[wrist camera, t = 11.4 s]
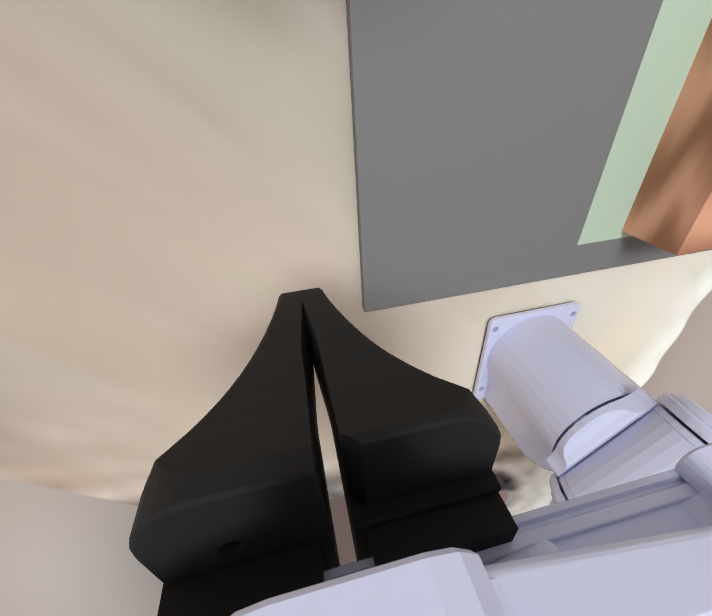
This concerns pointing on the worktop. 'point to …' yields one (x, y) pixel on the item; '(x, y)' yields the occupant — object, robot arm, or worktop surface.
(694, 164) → the t block
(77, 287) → the worktop surface
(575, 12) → the mat
